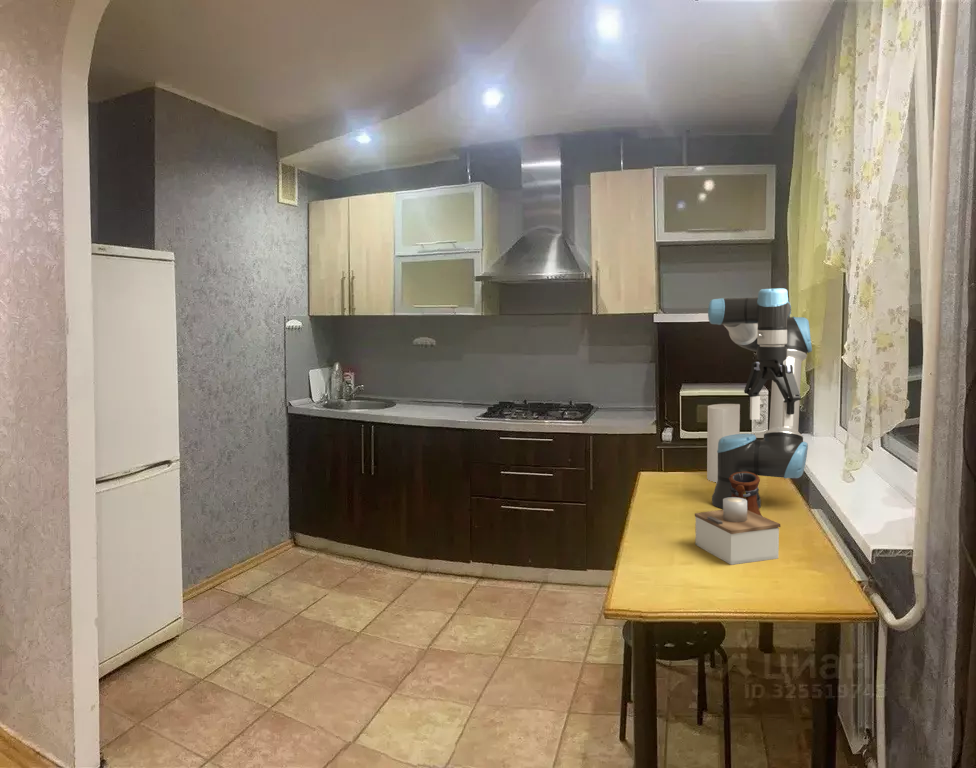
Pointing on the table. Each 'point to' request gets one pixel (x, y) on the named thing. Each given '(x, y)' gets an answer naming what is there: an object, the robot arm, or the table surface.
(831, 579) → the table surface
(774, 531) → the box
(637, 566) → the table surface
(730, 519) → the grey squat drum
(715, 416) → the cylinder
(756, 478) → the mug
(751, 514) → the lid
